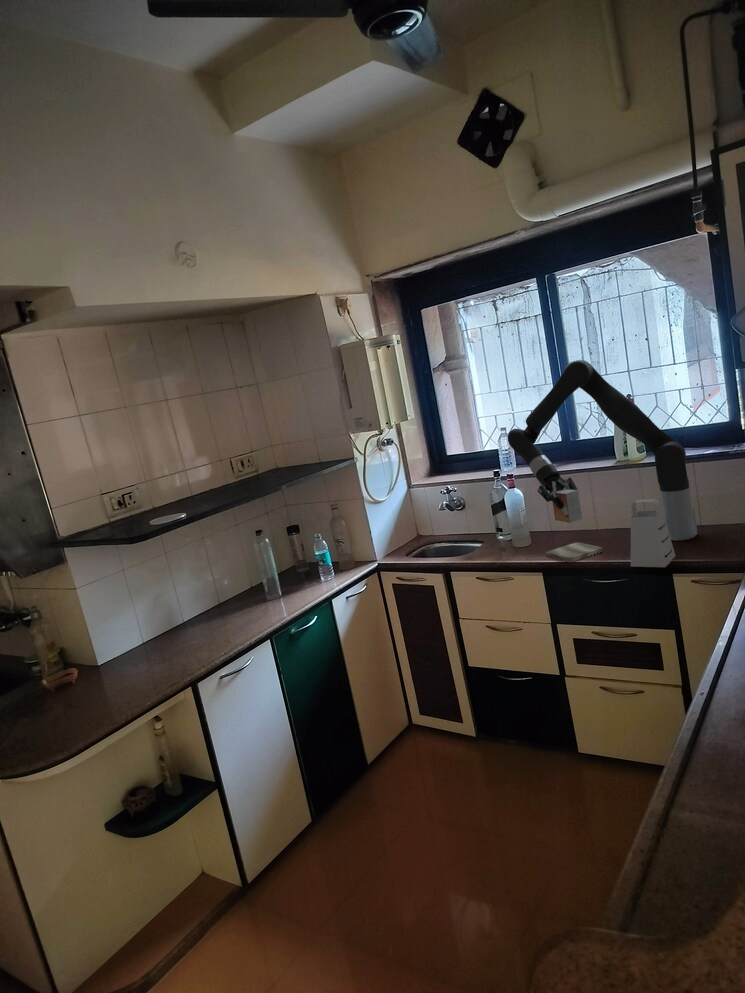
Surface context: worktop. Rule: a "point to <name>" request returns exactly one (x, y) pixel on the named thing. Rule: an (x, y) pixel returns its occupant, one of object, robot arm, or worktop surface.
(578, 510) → the small box
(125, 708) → the worktop surface
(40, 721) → the worktop surface
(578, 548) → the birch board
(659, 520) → the grater
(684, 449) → the robot arm
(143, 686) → the worktop surface
